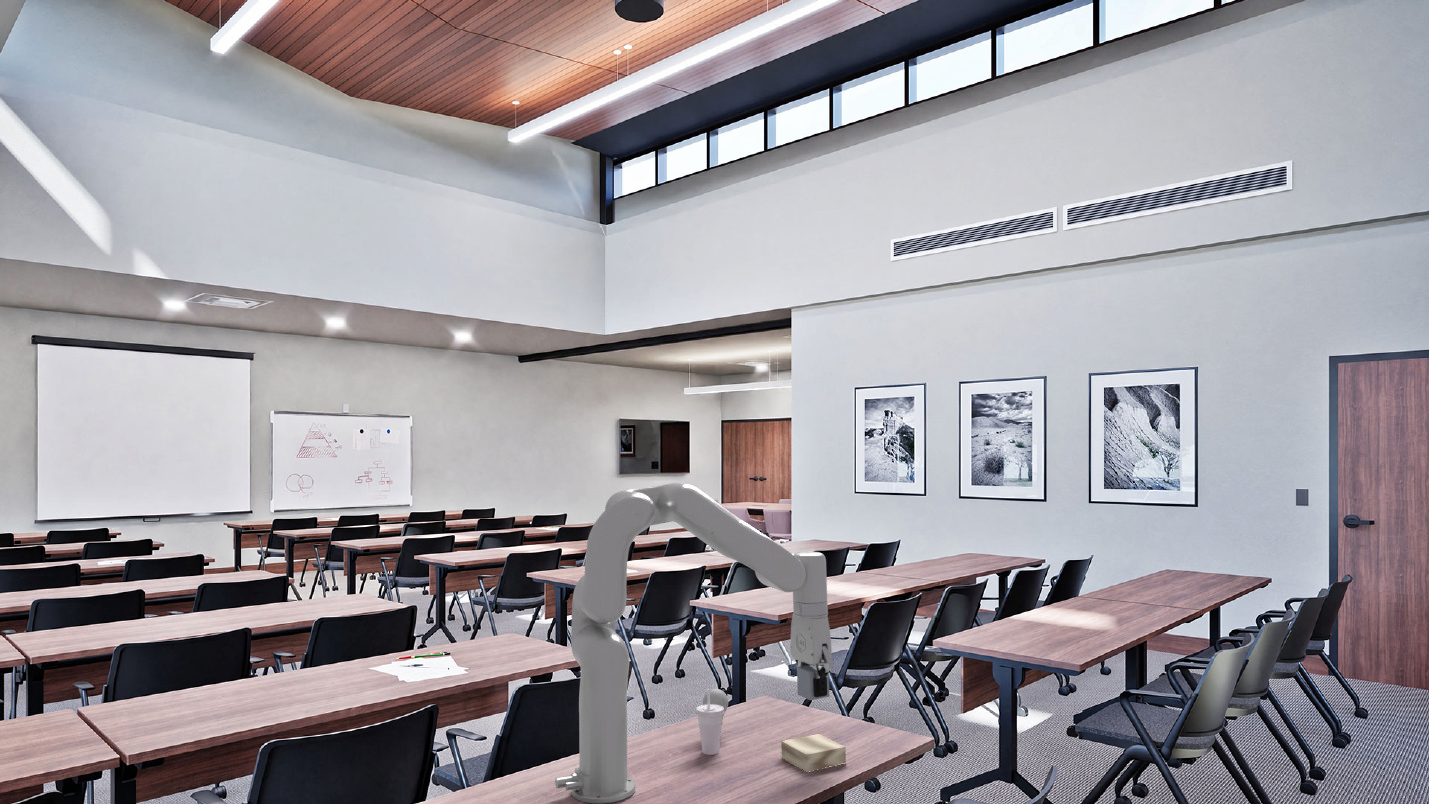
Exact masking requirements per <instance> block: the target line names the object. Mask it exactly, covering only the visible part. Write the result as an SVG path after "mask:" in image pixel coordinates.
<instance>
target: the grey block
mask: <svg viewBox="0 0 1429 804" xmlns="http://www.w3.org/2000/svg"><path fill="white" fill-rule="evenodd" d="M821 667H822V665H821V666H818V668H819V670H820V669H821ZM813 678H815V674H814V668H813V665H806V666H800V667H797V666H796V681H797V682H796V683H797V685H796V686H797V696H799V697H802V698H804V699H807V700H809V701H813V700H819V699H825V698H830V672H829V673H828V677H827V695H826V696H822V697H814V685H813Z"/></svg>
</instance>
